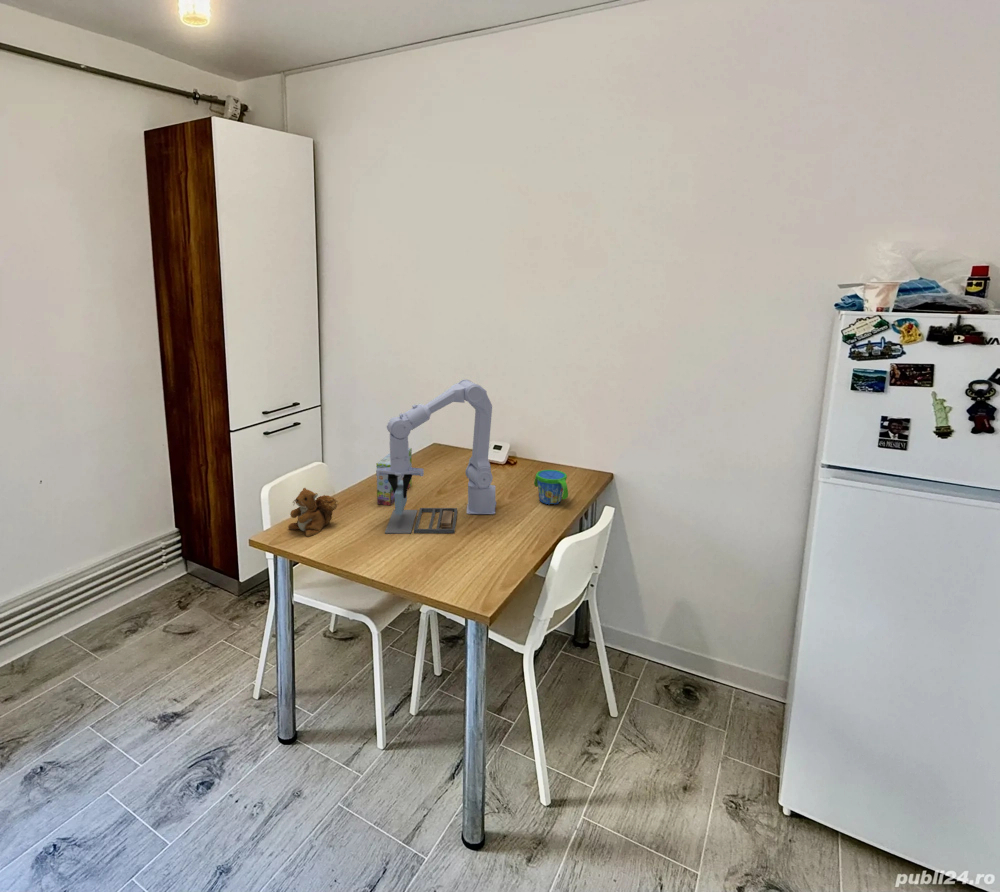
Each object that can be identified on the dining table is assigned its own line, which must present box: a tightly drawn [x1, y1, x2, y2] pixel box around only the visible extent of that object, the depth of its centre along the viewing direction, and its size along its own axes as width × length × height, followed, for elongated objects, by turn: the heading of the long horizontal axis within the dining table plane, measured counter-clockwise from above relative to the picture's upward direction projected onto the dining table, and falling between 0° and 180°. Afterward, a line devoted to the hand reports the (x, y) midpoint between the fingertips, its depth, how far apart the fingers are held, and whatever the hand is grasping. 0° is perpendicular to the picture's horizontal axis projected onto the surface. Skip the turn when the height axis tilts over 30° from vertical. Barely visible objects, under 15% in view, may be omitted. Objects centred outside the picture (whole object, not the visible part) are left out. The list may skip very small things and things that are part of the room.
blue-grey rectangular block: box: [394, 480, 408, 515], centre depth 188 cm, size 2×12×7 cm, turn 1°
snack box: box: [376, 447, 413, 506], centre depth 211 cm, size 21×6×15 cm, turn 168°
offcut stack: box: [440, 511, 454, 529], centre depth 190 cm, size 3×12×2 cm, turn 1°
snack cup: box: [533, 469, 569, 505], centre depth 207 cm, size 16×10×10 cm
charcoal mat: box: [384, 509, 419, 535], centre depth 190 cm, size 8×18×1 cm, turn 1°
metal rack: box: [413, 507, 458, 535], centre depth 190 cm, size 12×17×1 cm
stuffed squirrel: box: [287, 487, 339, 537], centre depth 183 cm, size 10×14×13 cm
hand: (400, 496), depth 188 cm, fingers closed on blue-grey rectangular block, 2 cm apart
